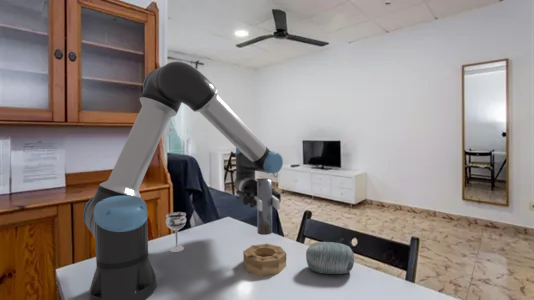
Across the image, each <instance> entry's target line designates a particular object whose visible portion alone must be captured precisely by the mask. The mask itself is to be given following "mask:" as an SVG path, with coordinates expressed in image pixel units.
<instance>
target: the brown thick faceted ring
mask: <svg viewBox="0 0 534 300" xmlns="http://www.w3.org/2000/svg"><path fill="white" fill-rule="evenodd" d="M243 265H244V268H245V269H246V272H247V273H252V274H255V275H258V276H261V277H263V276H268V275H276V274H280V272H281V271H283V270H284V269H285V268H286V267H287V252H286V251H285V250H284V249H283V248H282V246H280V245H274V244H272V243H271V244H270V243H262V244H255V245H253V244H252V245H250V246H249V247H247V248H245V250H243Z"/></svg>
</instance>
